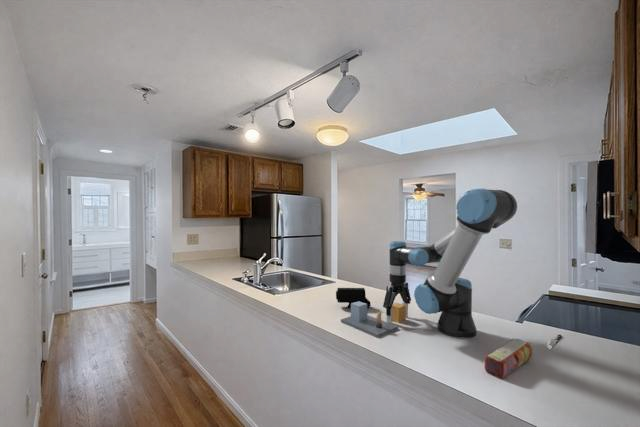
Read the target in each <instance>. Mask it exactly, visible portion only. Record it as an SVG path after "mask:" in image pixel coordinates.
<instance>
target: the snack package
mask: <svg viewBox="0 0 640 427" xmlns="http://www.w3.org/2000/svg"><path fill="white" fill-rule="evenodd" d="M532 355H533V348H532V346H531V344H530V343H529V342H528V341H526V340H523V339H520V338H512V339H510V340H509V341H507V342H506V343H505V344H503V345H502V346H500V347H498V348H497V349H496V350H494V351H492V352H491V353H489V354H487V355H486V356H485V357H484V358H485V359H484V370H485V372H486V373H487V374H489V375H491V376H493V377H496V378H498V379H504V378H506V377H507V375H509V374H510V373H512V372H513V371H514V370H517V368H519V367H520V366H521V365H523V364H524V363H525V362H527V361H529V360H531V358H532Z"/></svg>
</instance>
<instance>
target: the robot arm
mask: <svg viewBox="0 0 640 427" xmlns="http://www.w3.org/2000/svg"><path fill="white" fill-rule="evenodd" d="M455 206H456V207H455V209H456V214H457V216H456V221H457V223H458V225H457V226H456V227H455V228H454V229H453V230H451V231H449V232H448V233H446V234H445V235H444V236H443V237H441V238H440V239H439V240H437V241H435V242H434V243H433V244H431V245H430V246H420V247H419V246H418V247H411V246H407V243H406V241H402V240H393V241H390V243H389V249H388V250H389V282H390V284H391V285H387V286H386V287H385V290H386V293H385V296H384V301H383V305H382V306H383V308H385V311H386V313H385V314H386V322H388V323H390V324H393V321H392V319H393V309H391V308H392V305H393V304H394V303H395V299H396V297H397V296H398V294H399V296H400V298H401V300H402V303H401V304H402V305H406V318H408V317H409V316H408V315H409V311H408V309H409V304H411V302H412V297H411V294H410V290H409V283H408V282H406V281H407V276H406V275H407V265H412V266H415V267H424V266H425V265H426V264H434V263H438V264H437V265H436V266H437V267H436V269H435V270H434V272H433V273H430V274H428V275H427V277H426V279H425V281H424V283H421V284H418V285H417V286H416V287H415V289H414V294H413V295H414V296H413V297H414V299H415V303H416V306H417V307H418V308H419V309H420V310H421V311H422V312H423V313H425V314H438V313H440V315H439V318H438V321H437V330H438V331H439V332H440V333H442V334H444V335H447V336H450V337H453V338H458V339H459V338H460V339H470V338H474V337H476V336H477V327H476V324H475V320H474V317H473V314H472V308H473V305H472V303H473V302H472V301H473V299H472V298H473V297H472V296H473V295H472V294H473V288H472V287H473V286H472V282H471V280H469V279H468V278H462V277H460V276H461V275H462V272H463V271H464V269H465V267H466V265H467V264H468V262H469V260H470V258H471V256H472V255H473V253H474V251H475V250H476V247H477V245H478V244H479V242H480V240H481V239H482V237H483V235H488V234H490V233H491V231H492V229H493V230H494V229H497V228H499V227H500V226H502V225H505V223H507V222H509V221H510V220H511V219H512V218H513V217H515V215H516V213H517V210H518V202H517V199H516V198H515V197H514V195H513V194H511V193H510V192H508V191H506V190H502V189H487V188H473V189H470V190H467V191H466V192H464V193H463V194H461V196H460V197H459V198H458V200H457V202H456V205H455ZM389 305H390V306H389Z"/></svg>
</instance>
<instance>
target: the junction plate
mask: <svg viewBox="0 0 640 427" xmlns="http://www.w3.org/2000/svg"><path fill="white" fill-rule="evenodd" d="M340 323H342V324H344V325H347V326H349V327H352V328H354V329H355V330H359V331H361V332H363V333H366V334H368V335H369V336H373V337H375V338H376V339H377V338H380V337H382V336H385V335H388V334H390V333H392V332H395V331H397V330H399V326H398V325H396V324H393V323H389V322H387V321H385V320H382V312H376V317H373V316H371V315H368V308H367V304H366V303H363V302H360V301H358V302H354V303H351V308H350V315H349V316H347V317H344V318H341V319H340Z"/></svg>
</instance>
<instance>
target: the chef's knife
mask: <svg viewBox="0 0 640 427" xmlns="http://www.w3.org/2000/svg"><path fill="white" fill-rule="evenodd" d="M561 338H562V334H557V337H556V338H550V339H551V340H550V341H551V342H550V344H549V345H551V346H552V348H553V347H554V346H555V345H556V344H557V343H558V342H559V340H560V339H561ZM557 341H558V342H557ZM556 342H557V343H556Z"/></svg>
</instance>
